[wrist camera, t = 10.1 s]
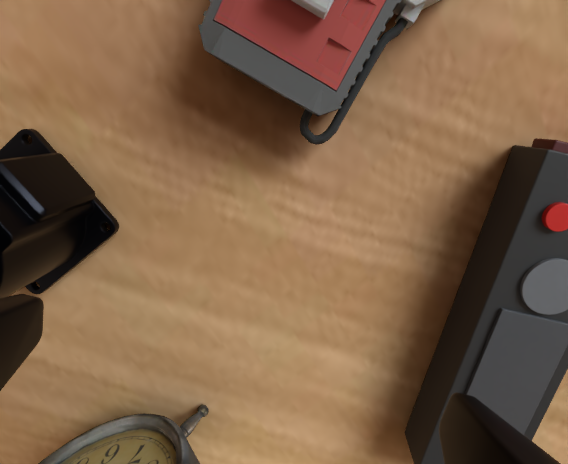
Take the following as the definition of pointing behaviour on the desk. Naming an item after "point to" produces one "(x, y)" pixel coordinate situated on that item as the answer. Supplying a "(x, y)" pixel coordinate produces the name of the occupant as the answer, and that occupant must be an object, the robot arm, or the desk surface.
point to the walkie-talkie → (306, 47)
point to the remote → (507, 306)
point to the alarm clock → (132, 442)
